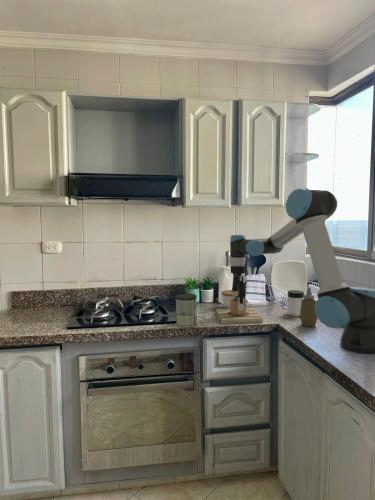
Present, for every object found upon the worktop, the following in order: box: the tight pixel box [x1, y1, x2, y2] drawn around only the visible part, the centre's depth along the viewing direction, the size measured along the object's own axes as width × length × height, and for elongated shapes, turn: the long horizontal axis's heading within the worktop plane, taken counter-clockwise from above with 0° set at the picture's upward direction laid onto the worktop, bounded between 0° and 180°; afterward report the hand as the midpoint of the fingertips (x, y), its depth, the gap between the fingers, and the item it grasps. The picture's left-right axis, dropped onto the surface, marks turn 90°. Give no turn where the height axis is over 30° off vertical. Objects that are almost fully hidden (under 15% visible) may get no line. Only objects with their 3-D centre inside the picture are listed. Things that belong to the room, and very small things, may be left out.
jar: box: [287, 289, 305, 317], centre depth 189 cm, size 9×8×12 cm
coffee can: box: [174, 293, 198, 328], centre depth 174 cm, size 10×10×14 cm
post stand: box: [215, 296, 264, 325], centre depth 184 cm, size 20×20×11 cm
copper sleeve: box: [230, 298, 247, 315], centre depth 184 cm, size 8×8×7 cm
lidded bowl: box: [221, 288, 233, 309], centre depth 205 cm, size 13×13×11 cm
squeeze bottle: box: [299, 286, 319, 328], centre depth 169 cm, size 8×8×18 cm
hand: (238, 306), depth 184 cm, fingers open, 13 cm apart
